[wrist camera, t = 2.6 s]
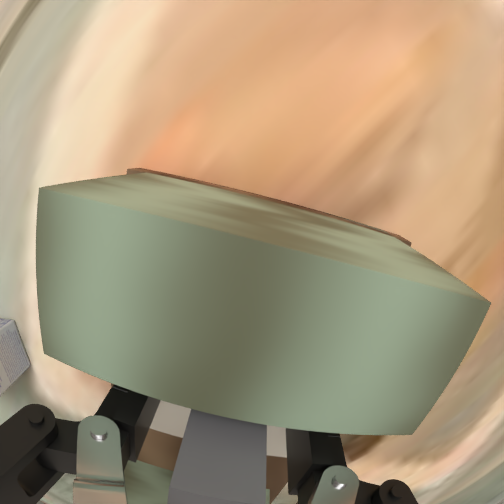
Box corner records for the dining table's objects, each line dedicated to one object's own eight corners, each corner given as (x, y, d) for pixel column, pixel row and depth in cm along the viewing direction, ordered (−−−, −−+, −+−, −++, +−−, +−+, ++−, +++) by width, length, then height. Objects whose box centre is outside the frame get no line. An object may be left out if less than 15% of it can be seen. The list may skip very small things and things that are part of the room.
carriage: (323, 333, 15) (369, 501, 6) (286, 414, 16) (293, 556, 7) (164, 295, 14) (64, 441, 5) (153, 383, 16) (95, 516, 7)
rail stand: (399, 235, 15) (509, 308, 6) (261, 503, 23) (258, 575, 14) (139, 168, 15) (14, 182, 6) (125, 472, 22) (99, 539, 14)
